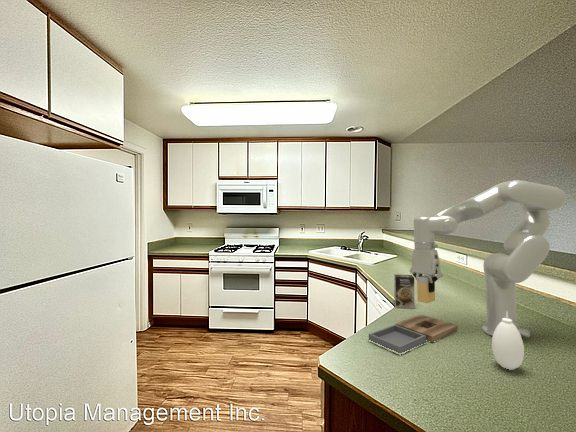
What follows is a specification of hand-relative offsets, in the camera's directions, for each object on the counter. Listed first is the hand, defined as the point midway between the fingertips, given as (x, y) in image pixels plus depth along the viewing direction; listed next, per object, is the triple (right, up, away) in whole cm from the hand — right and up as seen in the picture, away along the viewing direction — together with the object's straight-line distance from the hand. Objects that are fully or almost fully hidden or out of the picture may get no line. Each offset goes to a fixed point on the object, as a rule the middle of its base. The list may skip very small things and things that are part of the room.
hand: (426, 290), depth 119 cm
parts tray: (-16, -17, -10) cm, 25 cm away
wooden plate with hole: (0, -17, 0) cm, 17 cm away
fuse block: (0, -4, 0) cm, 4 cm away
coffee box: (+3, -16, +30) cm, 35 cm away
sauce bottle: (+11, -17, -30) cm, 36 cm away
